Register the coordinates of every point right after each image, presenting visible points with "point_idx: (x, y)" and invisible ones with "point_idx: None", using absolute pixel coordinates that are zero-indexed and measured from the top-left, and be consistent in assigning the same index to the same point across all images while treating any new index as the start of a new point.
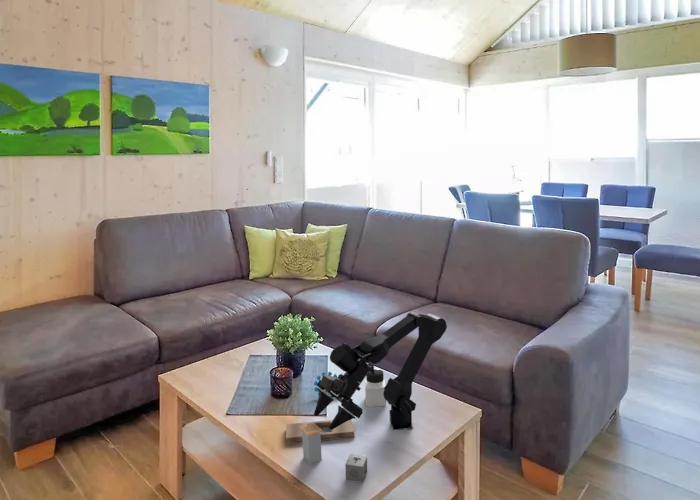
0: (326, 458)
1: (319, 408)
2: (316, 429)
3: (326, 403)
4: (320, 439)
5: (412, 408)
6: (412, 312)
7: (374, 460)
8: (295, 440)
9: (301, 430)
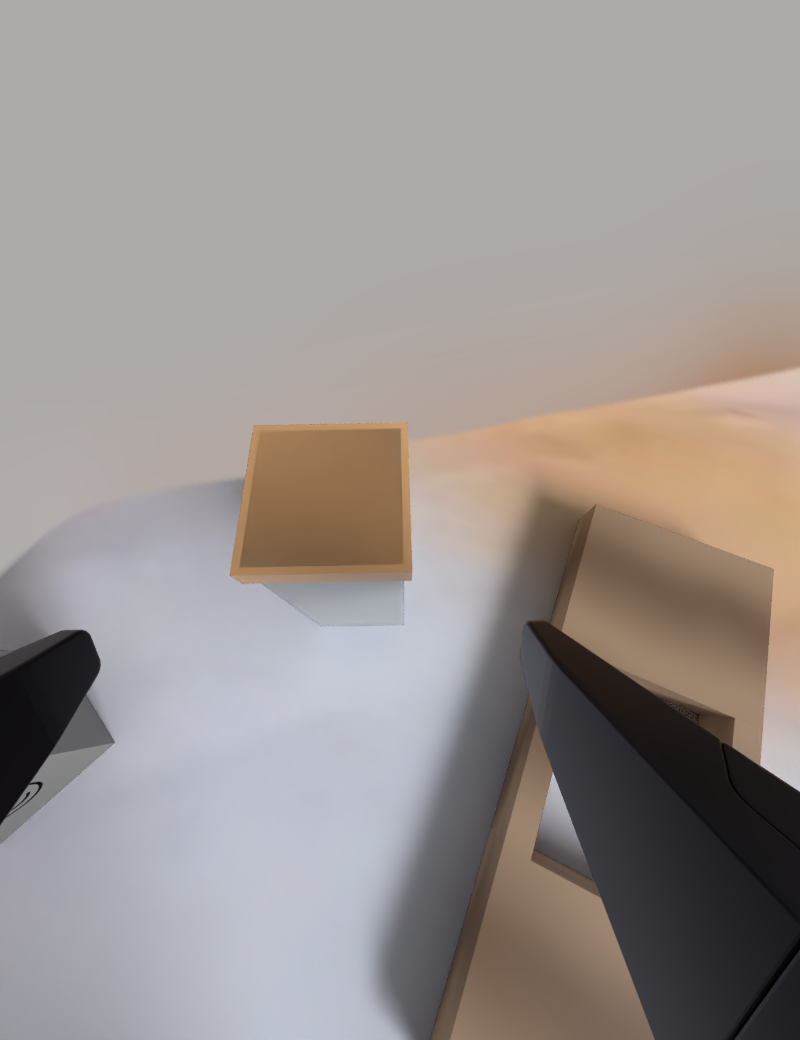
0: (312, 659)
1: (578, 735)
2: (265, 531)
3: (689, 1034)
4: (279, 594)
5: None
6: None
7: (37, 1003)
8: (571, 564)
9: (651, 629)
